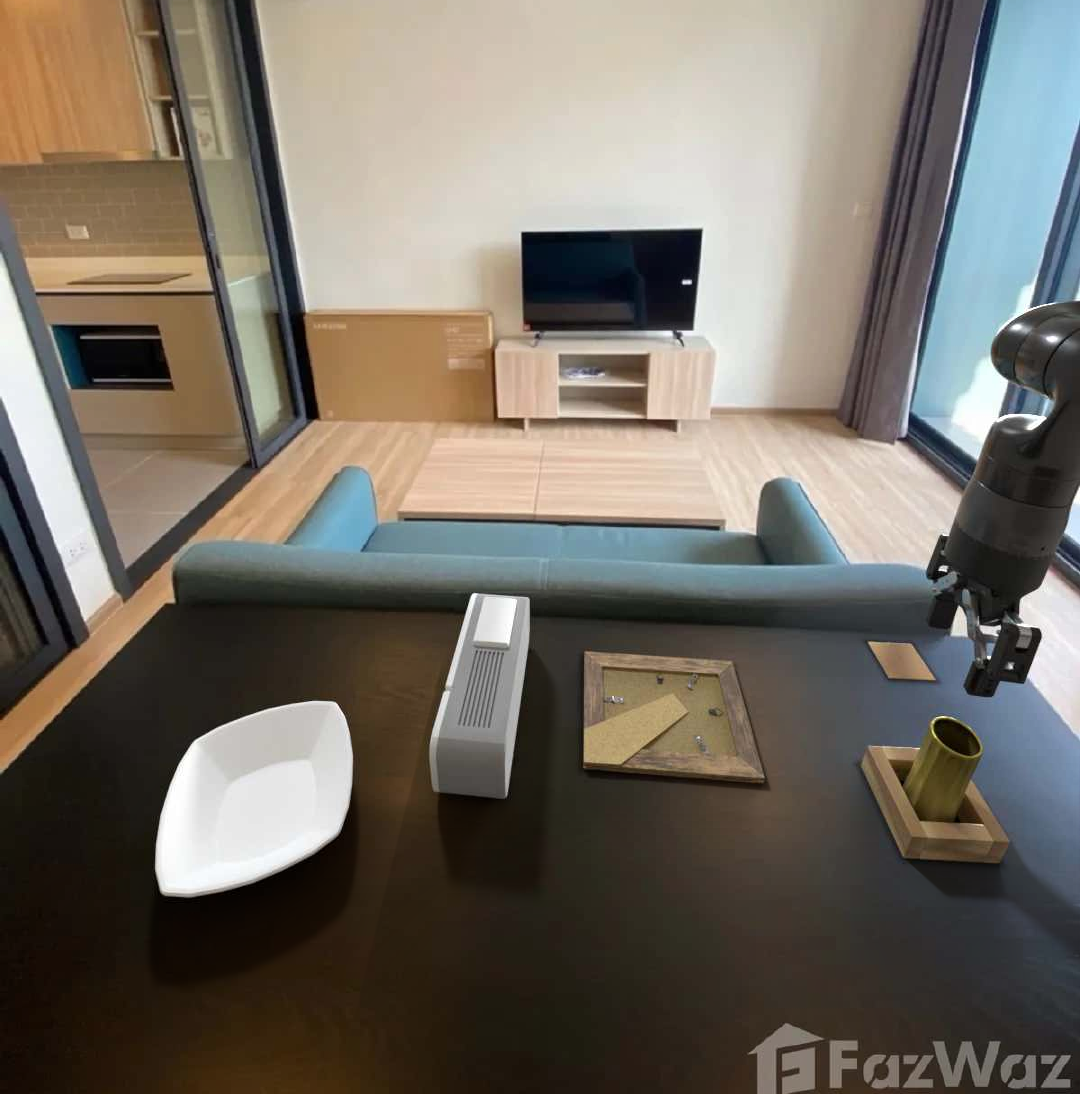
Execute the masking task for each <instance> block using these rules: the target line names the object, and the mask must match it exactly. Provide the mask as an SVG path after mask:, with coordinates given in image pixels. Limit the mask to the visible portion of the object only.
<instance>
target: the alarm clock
mask: <svg viewBox="0 0 1080 1094" xmlns="http://www.w3.org/2000/svg"><path fill="white" fill-rule="evenodd" d="M530 603H531V602H530V598H529V597H527V596H514V595H503V594H502V595H499V594H488V593H472V594H471V595H470V597H469V602H468V604H467V605H468V606H467V608H466V610H465V614H464V619H463V622H462V626H461V629H460V632H459V636H458V640H457V644H456V647H455V650H454V654H453V658H452V661H451V665H450V668H449V671H448V675H447V679H446V681H445V686H444V688H445V690H444V691H443V693H442V697H441V700H440V704H439V707H438V710H437V714H436V717H435V720H434V725H433V728H432V732H431V736H430V742H429V750H428V752H429V753H428V757H429V759H428V760H429V769H430V778H431V787H432V790H433V792H434V793H442V794H443V793H444V794H453V795H463V796H471V797H472V796H473V797H480V798H481V797H483V798H492V799H501V800H505V799H506V798H507V797H508V792H509V786H510V780H511V779H510V778H511V771H512V765H513V759H514V751H515V745H516V737H517V729H518V723H519V716H520V708H521V701H522V694H523V686H524V680H525V673H526V665H527V659H528V651H529V644H530V632H531V631H530V629H531V626H530V625H531V624H530V623H531V621H530V620H531V619H530V617H531V616H530V615H531V612H530V611H531V609H530V605H531V604H530Z"/></svg>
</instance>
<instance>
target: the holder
mask: <svg viewBox="0 0 1080 1094" xmlns="http://www.w3.org/2000/svg"><path fill="white" fill-rule="evenodd" d="M919 750H920V747H900V746H885V745H883V746H879V745H867V747H866V750H865V752H864V755H863V758H862V760H861V761H862V762H861V763H860V767H861V769H862V772H863V774H864V776H865V778H866V780H867V782H868V784H869V786H870V789H871V791H872V793H873V795H874V798H875V800H876V802H877V804H878V806H879V808H880V810H881V812H882V815H883V817H884V819H885V822H886V823H887V825H888V828H889V829H890V832H891V834H892V836H893V838H894V840H895V842H896V844H897V847H898V849H899V851H900V854H901V856H902V857H903V858H904V859H918V860H937V861H953V862H970V863H971V862H972V863H989V864H1000V862H1001V861H1002V859H1003V857H1004V855H1005V853H1006V851H1007V849H1008V848H1009V846H1010V844H1011V840H1010V839H1009V838H1008V836H1007V834H1006V833H1005V831H1004V830H1003V828H1002V826H1001V824H1000V823H999V822H998V820H997V819H996V817H995V815H994V814H993V812H992V810H991V808H990V807H989V806H988V804H987V803H986V801H985V799H984V798H983V796H982V795H981V793H980V791H979V790H978V788H977V787H976V784H975V783H974V782H973V780H972V779H971V780H970V782H969V784H968V787H967V789H966V792H965V794H964V796H963V799H962V802H961V804H960V807H959V809H958V812H957V815H956V818H958V820H959V822H960V823H959V822H954V823H944V822H926V821H919V819H918V817H917V815H916V813H915V811H914V809H913V807H912V806H911V804H910V802H909V800H908V798H907V796H906V794H905V792H904V790H903V788H902V786H903V785H901V782H900V781H902V782H905V780H906V778H907V776H908V775H909V773H910V771H911V768H912V766H913V763H914V761H915V758H916V756H917V754H918V752H919Z"/></svg>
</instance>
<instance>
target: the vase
mask: <svg viewBox="0 0 1080 1094" xmlns="http://www.w3.org/2000/svg"><path fill="white" fill-rule="evenodd" d="M919 748H920V750H919V752H918V754H917V756H916V758H915V761H914V763H913V766H912V768H911V771H910V773H909V775H908V776H907V778H906V780H905V781H903V784H902V785H901V786H902V788H903V790H904V792H905V794H906V796H907V798H908V800H909V802H910V804H911V806H912V807H913V809H914V811H915V813H916V815H917V817H918V819H919V821H926V822H944V823H955V821H956V818H957V812H958V809H959V807H960V804H961V802H962V799H963V796H964V794H965V792H966V789H967V787H968V784H969V782H970V780H972V778H973V776H974V774H975V771H976V769H977V767H978V765H979V762H980V760H982V759H981V758H982V757H983V754H984V745H983V743H982V740H981V738H980V737H979V736H978V734H977V733H976V732H975V730H973V729H972V728H971V727H969V726H968V725H967V724H965V723H964V722H963V721H960V720H959V719H956V718H954V717H950V716H937V717H935V718H934V719H932V720H931V721H930V723H929V724H928V727H927V730H926V732H925V735H924V738H923V740H922V742H921V746H920V747H919Z"/></svg>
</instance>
